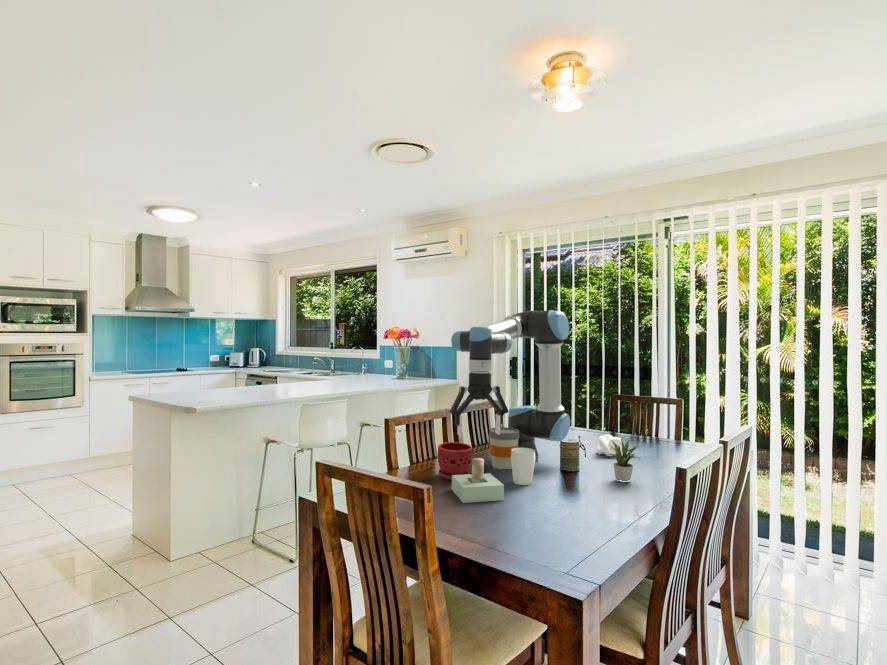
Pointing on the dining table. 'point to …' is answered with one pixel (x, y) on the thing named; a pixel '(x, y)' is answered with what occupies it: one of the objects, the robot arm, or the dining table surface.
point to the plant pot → (454, 459)
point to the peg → (477, 470)
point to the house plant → (623, 461)
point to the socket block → (477, 488)
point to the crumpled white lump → (605, 447)
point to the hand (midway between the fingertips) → (478, 434)
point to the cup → (522, 465)
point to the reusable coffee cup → (503, 446)
